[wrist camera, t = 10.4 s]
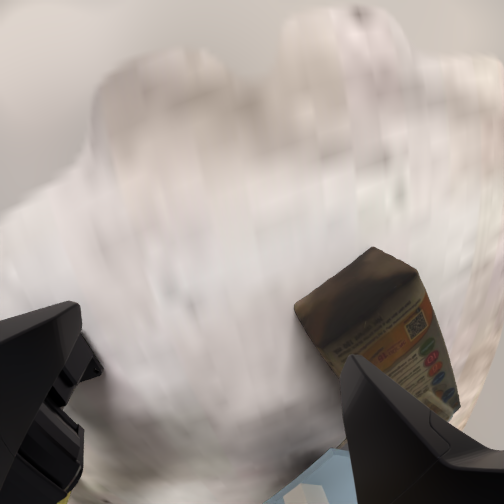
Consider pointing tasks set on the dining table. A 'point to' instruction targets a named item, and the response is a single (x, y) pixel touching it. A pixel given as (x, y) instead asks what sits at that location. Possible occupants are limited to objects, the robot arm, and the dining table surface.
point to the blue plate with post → (321, 482)
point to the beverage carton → (383, 327)
